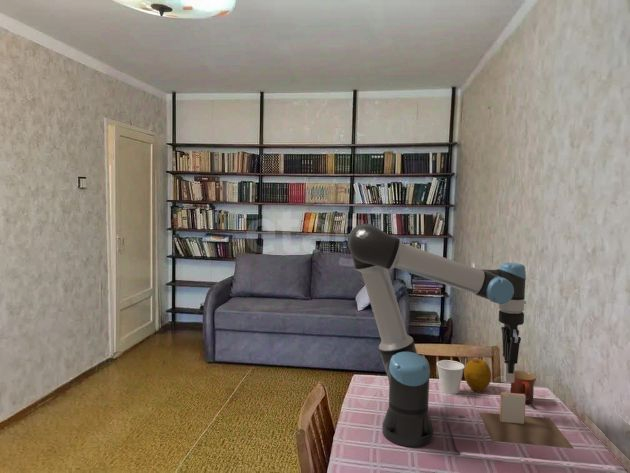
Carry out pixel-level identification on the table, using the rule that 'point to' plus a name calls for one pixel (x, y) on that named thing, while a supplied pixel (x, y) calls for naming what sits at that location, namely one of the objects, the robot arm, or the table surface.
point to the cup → (450, 376)
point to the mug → (524, 385)
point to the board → (525, 431)
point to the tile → (512, 408)
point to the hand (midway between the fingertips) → (509, 381)
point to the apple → (477, 374)
